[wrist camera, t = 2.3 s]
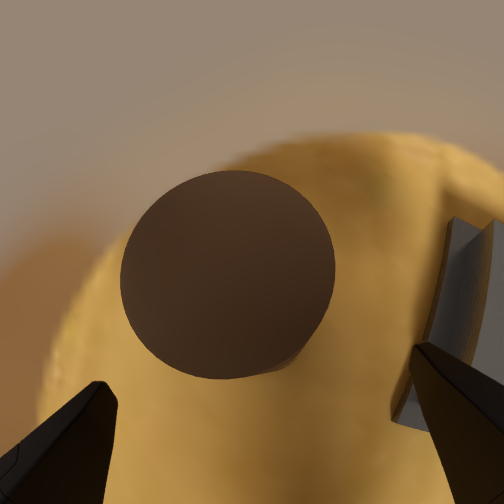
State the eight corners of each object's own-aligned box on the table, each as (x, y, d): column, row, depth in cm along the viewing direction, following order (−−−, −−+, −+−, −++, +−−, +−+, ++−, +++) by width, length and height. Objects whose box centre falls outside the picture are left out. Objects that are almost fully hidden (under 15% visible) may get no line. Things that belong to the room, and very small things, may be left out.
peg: (285, 382, 16) (276, 418, 4) (223, 354, 17) (88, 313, 5) (313, 320, 17) (363, 209, 5) (251, 294, 18) (184, 151, 6)
